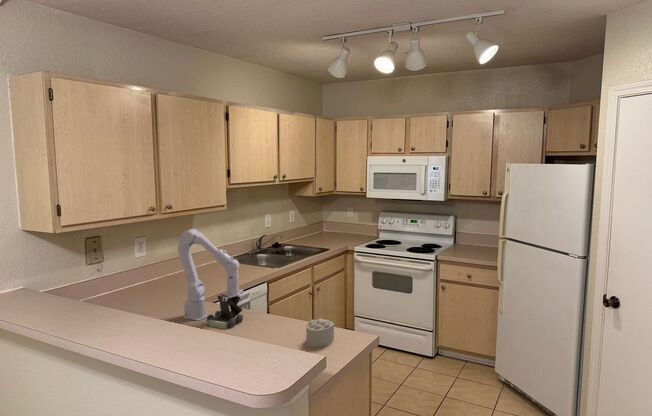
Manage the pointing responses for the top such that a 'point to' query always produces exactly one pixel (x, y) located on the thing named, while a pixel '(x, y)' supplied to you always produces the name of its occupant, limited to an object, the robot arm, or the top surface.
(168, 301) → the top surface
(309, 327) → the lumpy-topped squat cylinder
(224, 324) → the chassis bay
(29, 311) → the top surface
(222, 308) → the phone stand
